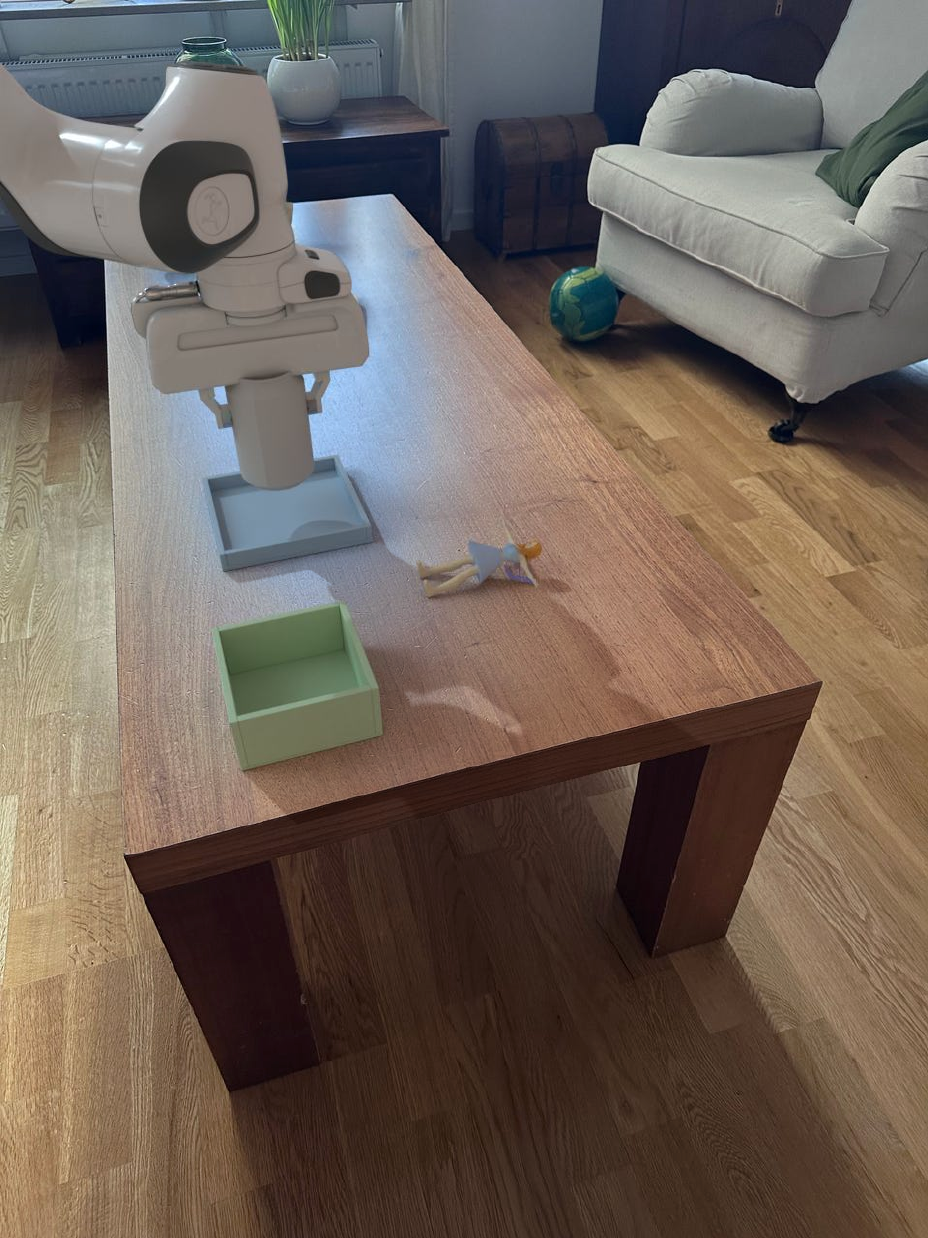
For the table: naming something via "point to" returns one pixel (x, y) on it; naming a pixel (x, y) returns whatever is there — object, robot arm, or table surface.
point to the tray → (285, 516)
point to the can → (271, 431)
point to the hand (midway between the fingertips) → (270, 418)
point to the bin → (296, 684)
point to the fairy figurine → (483, 563)
